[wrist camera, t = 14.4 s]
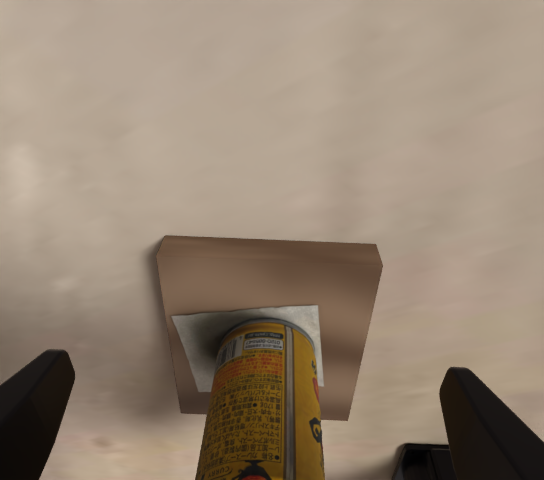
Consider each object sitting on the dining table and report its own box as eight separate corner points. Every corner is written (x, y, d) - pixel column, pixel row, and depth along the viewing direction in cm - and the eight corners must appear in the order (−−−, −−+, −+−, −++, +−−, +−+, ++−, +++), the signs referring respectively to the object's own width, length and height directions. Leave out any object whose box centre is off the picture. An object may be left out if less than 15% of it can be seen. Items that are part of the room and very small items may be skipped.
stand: (344, 396, 31) (347, 420, 29) (186, 389, 31) (180, 413, 30) (375, 244, 23) (382, 265, 22) (165, 235, 23) (155, 256, 22)
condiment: (323, 383, 27) (344, 625, 17) (199, 389, 28) (150, 624, 18) (317, 302, 23) (340, 556, 13) (172, 311, 24) (90, 558, 14)
